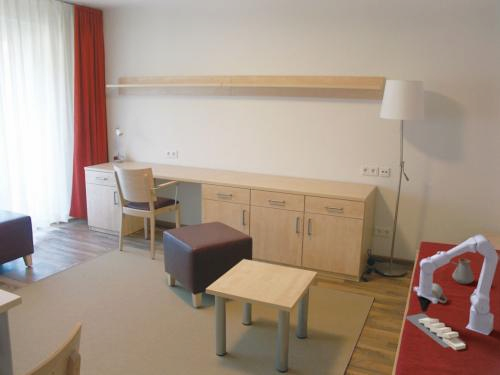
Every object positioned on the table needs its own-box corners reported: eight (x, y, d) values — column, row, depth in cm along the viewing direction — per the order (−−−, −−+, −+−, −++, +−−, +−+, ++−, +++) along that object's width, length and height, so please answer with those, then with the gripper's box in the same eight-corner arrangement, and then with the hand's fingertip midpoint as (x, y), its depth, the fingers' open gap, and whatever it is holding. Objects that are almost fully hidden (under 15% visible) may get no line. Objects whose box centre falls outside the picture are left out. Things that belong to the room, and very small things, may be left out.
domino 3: (429, 327, 198) (441, 329, 191) (438, 326, 200) (450, 327, 192) (430, 331, 198) (442, 333, 190) (439, 329, 199) (451, 331, 192)
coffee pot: (472, 278, 254) (474, 254, 251) (475, 286, 243) (477, 261, 240) (432, 274, 260) (434, 251, 257) (434, 282, 250) (436, 258, 247)
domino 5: (442, 337, 190) (455, 346, 183) (452, 335, 192) (465, 344, 184) (442, 340, 191) (455, 350, 183) (451, 338, 192) (465, 348, 184)
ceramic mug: (423, 300, 228) (424, 287, 227) (427, 294, 235) (428, 281, 233) (444, 306, 223) (446, 292, 221) (448, 299, 229) (449, 286, 227)
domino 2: (423, 323, 202) (435, 325, 195) (433, 321, 203) (444, 323, 196) (424, 327, 202) (435, 328, 194) (433, 325, 203) (445, 326, 196)
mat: (404, 317, 212) (404, 316, 212) (423, 313, 215) (423, 313, 214) (444, 348, 185) (444, 347, 185) (465, 343, 188) (465, 343, 188)
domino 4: (436, 332, 194) (448, 334, 187) (445, 330, 196) (457, 332, 188) (437, 336, 194) (449, 338, 186) (446, 334, 195) (458, 336, 188)
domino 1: (418, 319, 206) (429, 320, 198) (427, 317, 207) (438, 319, 200) (419, 322, 206) (429, 324, 198) (427, 321, 207) (439, 322, 199)
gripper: (408, 279, 208) (407, 305, 211) (429, 291, 194) (427, 319, 197) (421, 277, 210) (419, 303, 213) (442, 289, 196) (440, 317, 199)
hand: (424, 310), depth 205 cm, fingers closed
